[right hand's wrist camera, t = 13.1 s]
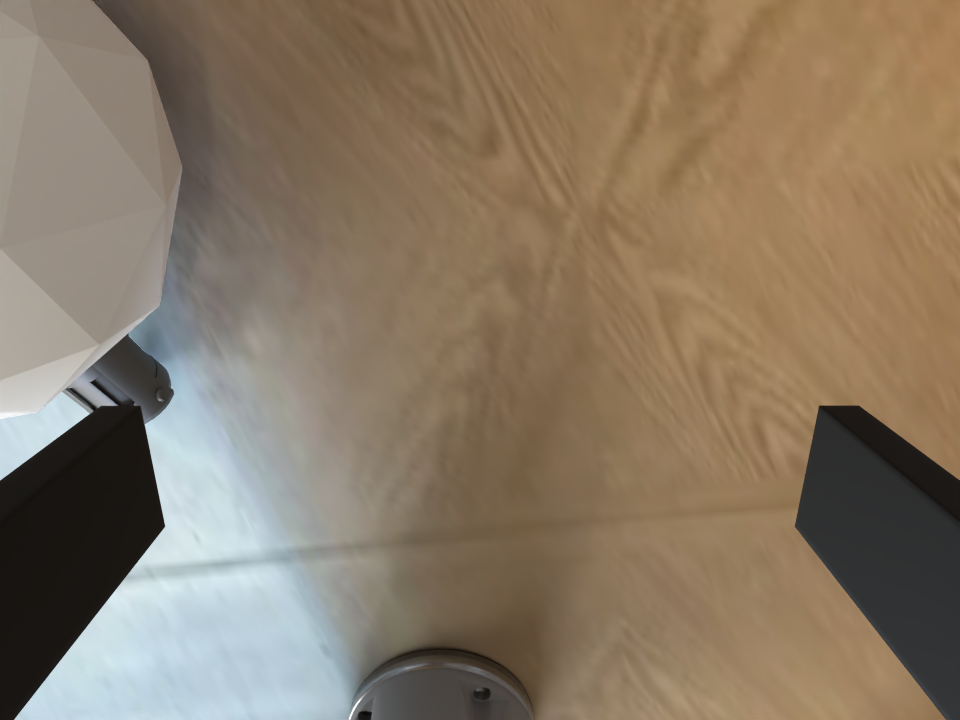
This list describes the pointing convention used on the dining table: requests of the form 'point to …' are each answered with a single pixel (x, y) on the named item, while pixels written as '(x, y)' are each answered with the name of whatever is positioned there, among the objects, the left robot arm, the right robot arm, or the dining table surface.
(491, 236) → the dining table surface
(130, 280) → the sphere
